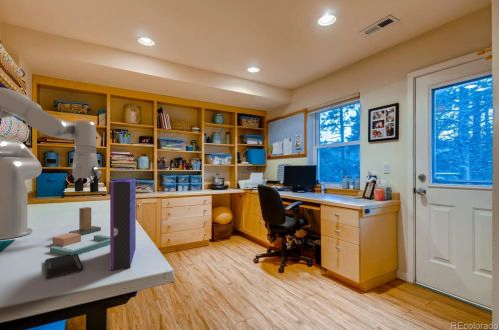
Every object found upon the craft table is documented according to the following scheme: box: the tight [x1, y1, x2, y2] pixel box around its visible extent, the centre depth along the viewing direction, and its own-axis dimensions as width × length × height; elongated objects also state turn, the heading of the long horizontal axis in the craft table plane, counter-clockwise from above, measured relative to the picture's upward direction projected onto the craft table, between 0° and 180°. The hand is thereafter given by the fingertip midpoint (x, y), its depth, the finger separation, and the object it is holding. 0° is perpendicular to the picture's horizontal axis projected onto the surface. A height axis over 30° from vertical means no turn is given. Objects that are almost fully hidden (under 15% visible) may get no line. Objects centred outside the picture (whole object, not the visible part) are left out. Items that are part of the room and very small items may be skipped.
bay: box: [49, 234, 110, 256], centre depth 84 cm, size 11×16×2 cm
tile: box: [52, 232, 82, 248], centre depth 88 cm, size 6×6×3 cm
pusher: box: [68, 206, 102, 237], centre depth 101 cm, size 10×5×11 cm, turn 157°
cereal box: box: [109, 177, 137, 272], centre depth 74 cm, size 17×5×24 cm, turn 21°
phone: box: [44, 254, 84, 280], centre depth 68 cm, size 8×1×15 cm
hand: (86, 191), depth 101 cm, fingers open, 9 cm apart
